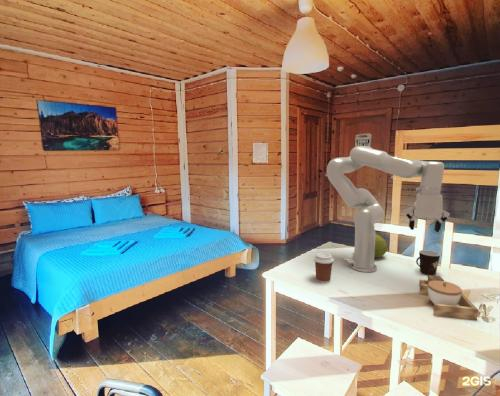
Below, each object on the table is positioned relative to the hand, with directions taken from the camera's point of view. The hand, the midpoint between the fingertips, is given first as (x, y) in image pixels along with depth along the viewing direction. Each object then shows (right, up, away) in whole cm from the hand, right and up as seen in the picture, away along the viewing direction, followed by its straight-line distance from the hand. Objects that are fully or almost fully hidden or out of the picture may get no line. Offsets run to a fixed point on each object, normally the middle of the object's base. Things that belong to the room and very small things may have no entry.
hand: (423, 230), depth 125 cm
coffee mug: (+10, -23, +16) cm, 30 cm away
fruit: (-7, -19, +39) cm, 44 cm away
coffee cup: (-41, -24, +10) cm, 49 cm away
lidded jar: (-1, -28, -14) cm, 31 cm away
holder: (+1, -27, -10) cm, 28 cm away
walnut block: (+3, -26, -2) cm, 26 cm away
